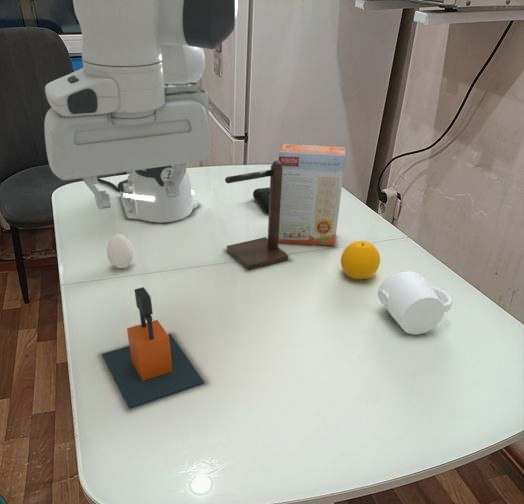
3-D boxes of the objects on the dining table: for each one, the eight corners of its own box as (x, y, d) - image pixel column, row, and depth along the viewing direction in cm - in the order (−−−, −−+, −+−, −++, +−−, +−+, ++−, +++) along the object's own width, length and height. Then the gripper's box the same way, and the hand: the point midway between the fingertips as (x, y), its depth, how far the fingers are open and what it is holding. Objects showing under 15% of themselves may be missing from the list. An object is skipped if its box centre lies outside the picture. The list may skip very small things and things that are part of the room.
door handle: (343, 204, 132) (317, 178, 143) (271, 212, 126) (250, 185, 137) (341, 215, 134) (316, 190, 145) (270, 225, 128) (249, 197, 139)
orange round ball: (384, 275, 108) (390, 243, 104) (363, 288, 104) (369, 255, 99) (353, 261, 112) (358, 230, 108) (331, 274, 108) (336, 242, 103)
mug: (392, 337, 91) (401, 299, 86) (374, 308, 98) (381, 271, 93) (454, 331, 93) (466, 294, 88) (432, 303, 100) (442, 267, 95)
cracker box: (334, 235, 122) (346, 145, 109) (334, 247, 118) (346, 154, 105) (276, 231, 123) (280, 141, 110) (274, 242, 118) (278, 150, 105)
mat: (102, 355, 84) (102, 353, 84) (170, 335, 89) (170, 333, 89) (129, 408, 75) (129, 406, 75) (204, 383, 80) (204, 381, 80)
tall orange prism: (132, 363, 83) (119, 288, 74) (161, 354, 85) (152, 280, 76) (142, 381, 79) (131, 306, 70) (172, 371, 81) (165, 297, 73)
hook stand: (216, 253, 114) (213, 161, 101) (266, 241, 119) (269, 152, 106) (237, 273, 107) (237, 177, 94) (288, 260, 112) (295, 167, 100)
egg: (111, 275, 105) (106, 242, 100) (107, 263, 108) (102, 231, 104) (137, 271, 106) (133, 238, 102) (132, 259, 110) (128, 227, 105)
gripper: (197, 75, 66) (201, 181, 74) (29, 87, 57) (55, 204, 66) (218, 87, 61) (219, 197, 70) (40, 101, 53) (67, 224, 62)
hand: (139, 201), depth 68 cm, fingers open, 8 cm apart
